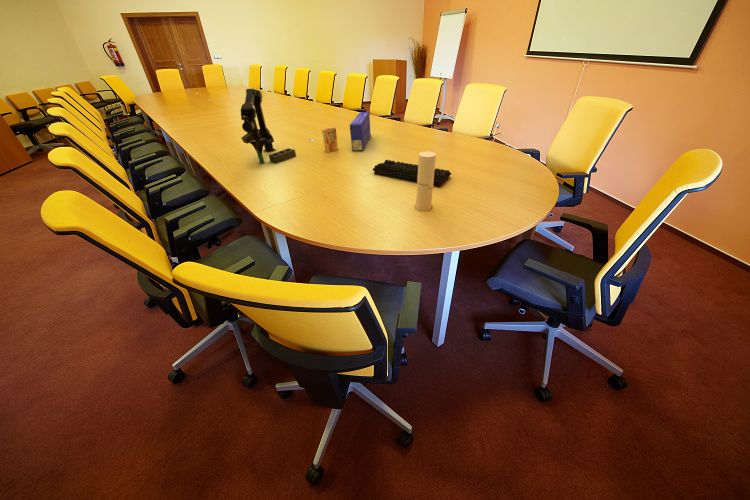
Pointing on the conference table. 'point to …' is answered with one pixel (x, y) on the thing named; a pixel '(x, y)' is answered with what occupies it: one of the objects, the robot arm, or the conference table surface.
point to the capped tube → (259, 156)
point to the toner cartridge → (360, 131)
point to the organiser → (282, 155)
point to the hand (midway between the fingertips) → (259, 153)
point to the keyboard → (408, 172)
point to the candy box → (330, 139)
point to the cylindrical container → (425, 180)
